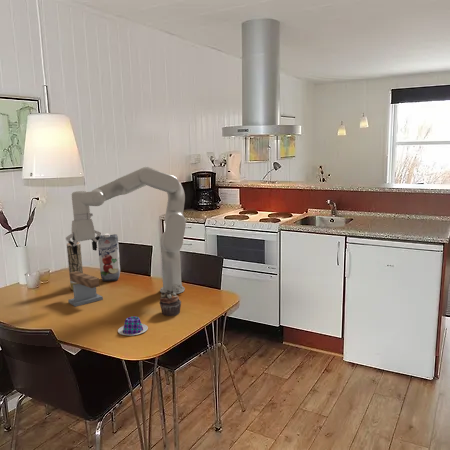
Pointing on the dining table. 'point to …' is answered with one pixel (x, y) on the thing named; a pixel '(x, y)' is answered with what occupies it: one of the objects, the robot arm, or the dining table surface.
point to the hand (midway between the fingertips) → (85, 251)
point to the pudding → (132, 326)
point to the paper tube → (74, 261)
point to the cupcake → (170, 303)
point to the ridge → (84, 295)
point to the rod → (84, 279)
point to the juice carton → (109, 257)
